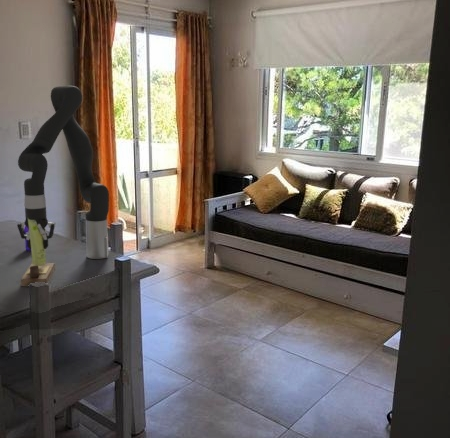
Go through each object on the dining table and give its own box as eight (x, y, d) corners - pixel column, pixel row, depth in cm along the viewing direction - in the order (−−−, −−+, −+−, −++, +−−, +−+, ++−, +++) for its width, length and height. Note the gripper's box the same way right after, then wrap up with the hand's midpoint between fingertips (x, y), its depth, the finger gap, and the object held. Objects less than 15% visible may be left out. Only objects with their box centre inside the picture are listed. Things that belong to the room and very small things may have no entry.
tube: (44, 266, 187) (41, 217, 182) (30, 266, 186) (27, 217, 181) (46, 261, 192) (43, 213, 188) (33, 261, 191) (29, 214, 187)
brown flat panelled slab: (55, 269, 199) (54, 253, 197) (46, 286, 182) (45, 268, 180) (32, 270, 197) (30, 254, 196) (21, 286, 180) (20, 269, 179)
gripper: (56, 203, 189) (58, 245, 193) (17, 203, 186) (20, 246, 190) (53, 207, 181) (55, 251, 185) (12, 208, 179) (16, 251, 183)
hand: (38, 248), depth 188 cm, fingers closed on tube, 5 cm apart
